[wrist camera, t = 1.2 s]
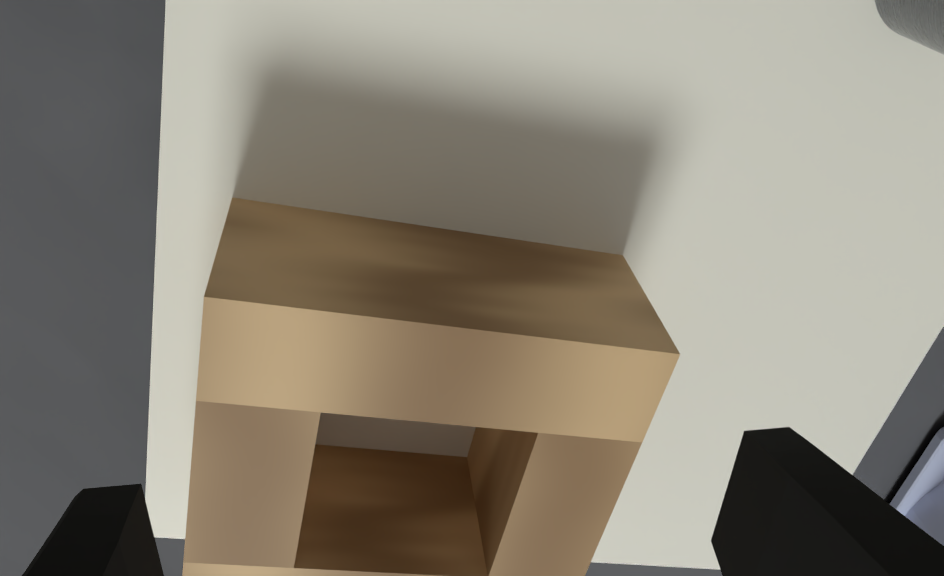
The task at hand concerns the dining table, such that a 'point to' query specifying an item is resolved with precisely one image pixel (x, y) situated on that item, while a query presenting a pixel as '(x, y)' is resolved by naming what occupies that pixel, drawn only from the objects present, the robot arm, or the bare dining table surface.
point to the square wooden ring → (413, 398)
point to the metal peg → (915, 20)
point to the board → (586, 201)
